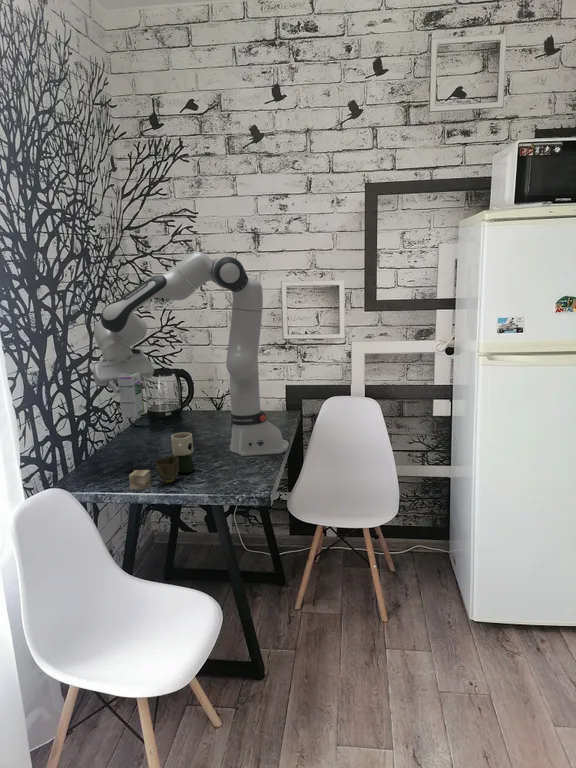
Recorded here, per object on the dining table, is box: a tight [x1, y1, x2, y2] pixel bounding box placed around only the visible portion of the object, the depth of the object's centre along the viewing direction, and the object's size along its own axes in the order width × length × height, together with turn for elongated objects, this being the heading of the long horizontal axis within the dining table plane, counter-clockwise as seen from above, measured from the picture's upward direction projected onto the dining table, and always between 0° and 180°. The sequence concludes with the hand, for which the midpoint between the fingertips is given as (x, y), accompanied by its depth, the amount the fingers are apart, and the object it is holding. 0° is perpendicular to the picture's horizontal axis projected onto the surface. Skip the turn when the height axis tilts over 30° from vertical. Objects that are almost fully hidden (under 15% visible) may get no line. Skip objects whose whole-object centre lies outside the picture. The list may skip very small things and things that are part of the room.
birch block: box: [128, 469, 152, 490], centre depth 178 cm, size 5×5×5 cm
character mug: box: [170, 431, 195, 474], centre depth 190 cm, size 11×7×13 cm, turn 3°
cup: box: [154, 454, 179, 484], centre depth 181 cm, size 8×7×8 cm
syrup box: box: [117, 372, 145, 418], centre depth 188 cm, size 6×6×14 cm
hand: (131, 390), depth 188 cm, fingers closed on syrup box, 8 cm apart
